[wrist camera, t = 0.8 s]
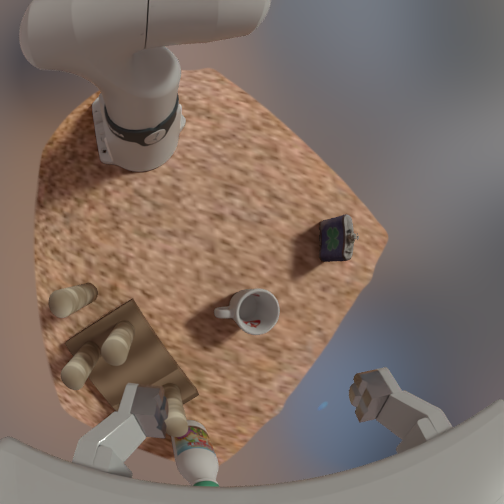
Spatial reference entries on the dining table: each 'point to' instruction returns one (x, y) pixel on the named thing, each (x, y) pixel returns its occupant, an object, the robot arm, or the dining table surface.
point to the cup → (252, 310)
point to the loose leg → (72, 299)
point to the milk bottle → (196, 456)
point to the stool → (128, 363)
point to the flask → (336, 239)
